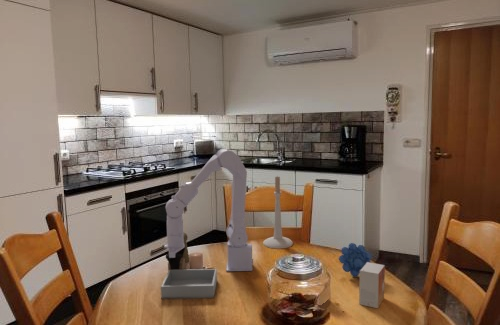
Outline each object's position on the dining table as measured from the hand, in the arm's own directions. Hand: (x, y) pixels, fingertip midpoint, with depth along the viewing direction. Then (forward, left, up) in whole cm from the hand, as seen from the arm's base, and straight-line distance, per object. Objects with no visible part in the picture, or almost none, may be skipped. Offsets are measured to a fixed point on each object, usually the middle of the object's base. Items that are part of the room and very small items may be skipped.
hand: (176, 270), depth 140 cm
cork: (0, -13, -2) cm, 13 cm away
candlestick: (-39, -31, -2) cm, 49 cm away
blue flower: (-63, +6, -2) cm, 63 cm away
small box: (-63, +23, -2) cm, 67 cm away
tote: (-7, +12, -1) cm, 14 cm away
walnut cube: (0, 0, -1) cm, 1 cm away
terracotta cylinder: (-7, 0, -2) cm, 7 cm away
